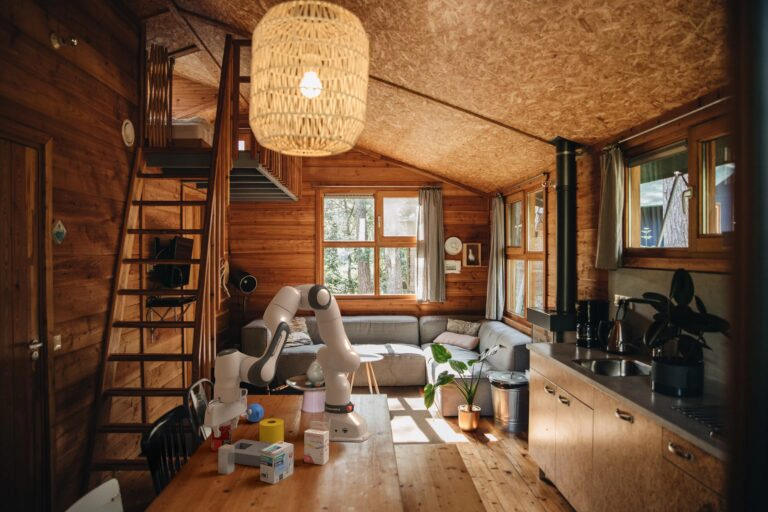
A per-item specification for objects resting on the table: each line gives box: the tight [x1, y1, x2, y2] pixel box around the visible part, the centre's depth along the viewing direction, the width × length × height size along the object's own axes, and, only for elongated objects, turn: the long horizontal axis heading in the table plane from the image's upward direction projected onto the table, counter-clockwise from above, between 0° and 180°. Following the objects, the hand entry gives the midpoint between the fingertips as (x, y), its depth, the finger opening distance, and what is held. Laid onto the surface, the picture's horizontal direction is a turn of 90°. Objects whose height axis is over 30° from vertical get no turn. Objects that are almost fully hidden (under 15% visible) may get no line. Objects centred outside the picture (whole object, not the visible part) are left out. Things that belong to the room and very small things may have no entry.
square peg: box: [217, 444, 235, 475], centre depth 177 cm, size 4×4×9 cm
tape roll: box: [259, 417, 285, 444], centre depth 204 cm, size 10×10×9 cm
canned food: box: [210, 419, 232, 453], centre depth 200 cm, size 8×8×11 cm
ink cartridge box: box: [303, 420, 330, 466], centre depth 187 cm, size 9×5×15 cm, turn 71°
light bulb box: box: [259, 441, 295, 485], centre depth 173 cm, size 11×7×11 cm, turn 151°
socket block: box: [231, 438, 274, 468], centre depth 190 cm, size 20×13×4 cm, turn 71°
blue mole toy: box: [239, 403, 265, 423], centre depth 233 cm, size 12×12×8 cm
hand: (225, 432), depth 177 cm, fingers open, 8 cm apart
